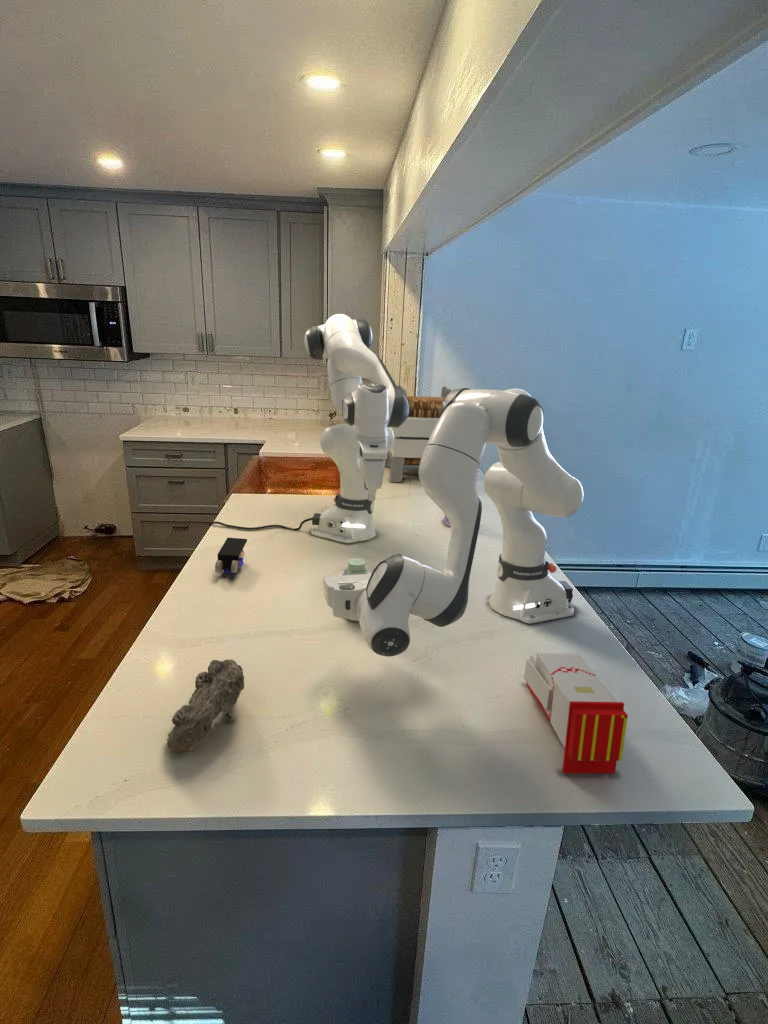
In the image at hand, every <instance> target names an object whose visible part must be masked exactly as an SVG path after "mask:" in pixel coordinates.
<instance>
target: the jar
mask: <svg viewBox="0 0 768 1024" xmlns="http://www.w3.org/2000/svg"><path fill="white" fill-rule="evenodd" d="M366 565H367V562H366V560H365V559H363V558H359V557H352V558H350V559H348V561H347V566H346V567H345V568H346V569H348V572H349V573H348V575H359V574H367V572H368V567H367V566H366ZM347 621H351V622H358V621H357V620H353V619H347Z"/></svg>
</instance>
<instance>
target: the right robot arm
mask: <svg viewBox="0 0 768 1024" xmlns="http://www.w3.org/2000/svg"><path fill="white" fill-rule="evenodd" d="M439 416H440V419H439V420H438V422H437V424H436V426H435V428H434V430H433V432H432V434H431V436H430V438H429V440H428V443H427V445H426V448H425V450H424V453H423V456H422V458H421V462H420V466H418V478H419V482H420V485H421V487H422V488H423V490H424V492H425V494H426V495H427V496H428V498H429V499H430V500H431V501H432V502H433V503H435V505H436V506H437V507H438V508H439V509H440V511H442V512H443V514H444V516H445V515H446V517H447V518H448V520H449V522H450V525H451V526H450V530H451V532H450V533H451V534H450V539H449V545H448V550H447V554H446V559H445V564H444V568H443V570H439V569H436V568H434V567H431V566H429V565H427V564H424V563H422V562H421V561H418V560H416V559H415V558H411V557H408V556H406V555H403V554H401V553H396V554H392V555H390V556H388V557H386V558H384V559H383V560H381V561H380V562H379V563H378V564H377V565H376V567H375V568H374V569H373V571H371V572H372V574H359V575H348V573H349V572H348V569H341V570H340V573H339V574H338V575H337V574H336V575H326V576H324V577H323V578H322V594H323V598H324V600H325V602H326V604H327V606H329V608H331V609H332V615H333V616H334V617H335V618H340V619H346V620H348V619H353V620H357V621H356V622H359V626H360V631H361V634H362V636H363V639H364V641H365V643H366V645H367V647H369V648H370V650H371V651H372V652H373V653H375V654H376V655H379V656H382V657H388V658H389V657H395V656H398V655H400V654H402V653H404V652H406V650H407V649H408V648H409V647H410V644H411V632H410V631H411V630H410V627H409V617H410V615H413V616H415V617H418V618H421V619H422V620H424V621H426V622H428V623H429V624H432V625H433V626H436V627H438V628H443V627H447V626H450V625H451V624H454V623H456V622H457V621H458V620H460V619H461V618H462V617H463V616H464V614H465V612H466V609H467V607H468V603H469V602H468V601H469V590H470V589H469V587H470V578H471V577H470V576H471V573H472V572H471V571H472V568H473V561H474V557H475V552H476V546H477V541H478V536H479V531H480V527H481V521H482V512H483V505H482V503H483V502H482V501H481V499H480V497H479V496H478V495H479V494H478V489H477V478H478V474H479V469H480V467H481V464H482V461H483V458H484V454H485V451H486V447H487V444H490V445H495V447H496V450H497V454H498V457H499V461H497V462H494V463H492V465H490V466H489V468H488V469H487V470H486V472H485V474H484V477H483V489H484V491H485V494H486V495H487V497H489V499H490V500H491V501H492V503H493V504H494V506H495V508H496V509H497V512H498V515H499V516H500V521H501V525H502V539H501V540H502V541H501V552H500V553H499V556H498V562H497V568H496V581H495V585H494V588H493V591H492V594H491V596H490V598H489V600H488V604H489V606H490V608H491V609H492V610H493V611H494V612H496V613H498V614H499V615H502V616H505V617H508V618H510V619H511V618H512V619H516V620H518V621H520V622H523V623H524V624H529V625H531V624H537V623H543V622H546V621H552V620H556V619H557V620H558V619H562V618H567V617H571V616H574V615H575V608H574V605H573V604H572V603H571V602H572V600H573V597H574V594H573V591H574V589H573V587H572V586H571V585H570V584H569V583H568V582H567V581H566V580H558V579H557V578H556V577H554V575H552V574H554V573H556V572H557V570H558V568H557V566H556V565H554V563H550V562H549V560H548V559H546V558H545V555H546V554H545V553H546V547H547V541H548V536H547V531H546V529H545V527H544V526H542V524H541V523H540V522H538V520H537V519H536V518H535V517H534V514H533V513H536V514H540V515H544V516H548V517H556V518H570V517H572V516H574V514H576V513H577V512H578V511H579V510H580V508H581V506H582V505H583V502H584V488H583V484H582V483H581V482H580V480H579V479H578V478H576V477H574V476H572V475H571V474H569V472H567V471H566V470H565V469H564V468H563V467H562V466H561V465H560V464H559V463H558V462H557V461H556V459H555V458H554V456H553V455H552V454H551V452H550V450H549V448H548V444H547V441H546V437H545V433H544V428H543V427H544V420H545V413H544V408H543V406H542V405H541V403H540V401H539V400H538V399H537V398H536V397H533V396H532V395H531V394H529V393H528V392H527V391H526V390H524V389H521V388H508V389H505V390H499V389H482V388H476V389H475V388H474V389H471V388H469V387H461V388H455V389H453V390H452V389H451V392H450V393H449V394H448V395H447V396H446V397H445V398H444V400H443V401H442V404H441V407H440V415H439Z"/></svg>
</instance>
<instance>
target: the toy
mask: <svg viewBox="0 0 768 1024" xmlns="http://www.w3.org/2000/svg"><path fill="white" fill-rule="evenodd" d="M523 679H524V681H525V682H526V686H527V688H528V689H529V691H530V693H531V694H532V695H533V697H534V699H535V701H536V702H537V704H538V705H539V706H540V708H541V710H542V711H543V713H544V715H545V717H546V718H547V719H548V721H550V722H549V723H550V725H551V727H552V728H553V730H554V732H555V733H556V735H557V737H558V739H559V741H560V743H561V744H562V745H563V748H564V750H563V751H564V752H563V761H562V769H561V771H562V774H595V775H596V774H597V775H598V774H599V775H600V774H601V775H606V774H607V775H608V774H609V775H615V774H616V770H617V762H622V760H623V755H624V754H623V753H624V746H625V738H626V732H627V725H628V723H627V722H628V713H627V712H626V711H625V710H624V708H625V703H624V702H623V701H617V700H616V698H614V696H613V695H612V694H611V693H610V691H609V690H608V689H607V687H606V686H605V685H604V683H602V681H601V679H599V678H598V676H597V675H596V674H595V672H594V671H593V670H592V669H591V668H590V666H589V665H588V664H587V663H586V661H585V660H584V659H583V658H582V657H581V655H580V654H579V653H552V652H551V653H546V652H537V653H530V654H529V659H528V658H527V659H526V661H525V668H524V674H523Z"/></svg>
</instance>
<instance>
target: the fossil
mask: <svg viewBox="0 0 768 1024" xmlns="http://www.w3.org/2000/svg"><path fill="white" fill-rule="evenodd" d="M243 670H244V669H243V667H242V665H240V664H237V662H236V661H235V660H234V659H232V658H231V659H227V658H226V659H224V660H223V661H222V660H217V659H212V660H211V661H210V663H209V665H208V666H207V671H201V672H199V673H198V674H197V675H196V676H195V680H194V684H195V685H194V687H195V689H194V690H193V693H192V694H191V697H190V698H189V700H188V704H184V705H182V706H181V707H180V709H177V710H176V711H175V713H174V715H173V716H172V718H171V723H172V724H173V727H172V730H171V731H170V732H168V734H167V738H166V741H167V742H166V745H167V749H168V750H169V751H173V752H174V753H176V754H178V753H182V752H188V751H189V752H192V751H193V750H195V748H196V747H197V746H199V744H200V743H201V742H203V741H204V740H205V739H206V738H207V737H208V736H209V735H210V734H211V733H212V732H214V730H215V729H217V727H218V726H219V724H220V722H221V721H222V720H223V719H224V718H225V716H226V717H227V719H229V720H233V717H232V715H230V714H229V710H230V709H231V708H234V706H235V704H236V703H237V702H238V699H239V697H240V695H241V693H242V691H243V690H245V689H244V688H245V675H244V671H243Z"/></svg>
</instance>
